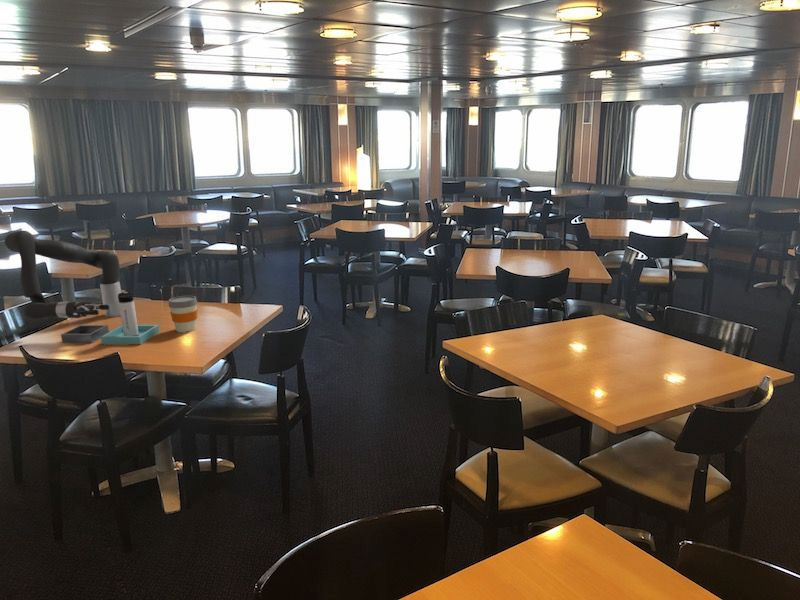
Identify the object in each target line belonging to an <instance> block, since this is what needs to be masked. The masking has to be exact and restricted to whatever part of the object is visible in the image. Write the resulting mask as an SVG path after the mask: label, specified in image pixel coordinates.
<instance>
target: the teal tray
mask: <svg viewBox="0 0 800 600" xmlns="http://www.w3.org/2000/svg"><path fill="white" fill-rule="evenodd" d="M137 326H138V333H139V336H124V334H123V327H122V324H121V325H120V326H118V327H116V328H114V329H113V330H111V331H109V333H107V334H105V335H103V336H102V337H101V338H100V340H101V341H100V342H101V345H102V344H104V346H105V345H107V344H108V345H109V346H110V344H112V346H113V345H116V346H118V345H119V346H120V345H123V346H124V345H126V344H127V345H126V346H128V344H141V345H142V344H144V343H145V341H146V340H147V341H149V340H150V339H152V338H154V337H155V336H157V335H158V334H159V333H161V331H160V324H137ZM157 333H158V334H157ZM154 335H155V336H154ZM151 337H152V338H151ZM148 339H149V340H148ZM147 341H146V342H147ZM143 342H144V343H143Z"/></svg>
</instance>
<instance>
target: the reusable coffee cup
mask: <svg viewBox="0 0 800 600" xmlns="http://www.w3.org/2000/svg"><path fill="white" fill-rule="evenodd" d="M197 304H198V301H197V296H195V295H181V296H175V297H172V298H169V299H168V307H169V309H170V315H171V320H172V322H173V324H174V327H175V332H177V331H178V332H177V333H181V332H183V333H188V332H187V331H191V332H193V331H192V330H194V329H195V330H197V319H198V308H197ZM195 330H194V331H195Z"/></svg>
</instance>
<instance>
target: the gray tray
mask: <svg viewBox="0 0 800 600" xmlns="http://www.w3.org/2000/svg"><path fill="white" fill-rule="evenodd" d="M109 332H110V331H109V325H108V324H101V325H100V324H90V325H89V324H80V325H77V326H75V327H73V328H70V329H69V330H67V331H65V332H63V333H61V334H60V337H61V342H62V344H93V343H95V342H96V341H98V340H101V337H102V336H103V335H105V334H107V333H109ZM94 341H95V342H94ZM92 342H93V343H92Z"/></svg>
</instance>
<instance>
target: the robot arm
mask: <svg viewBox="0 0 800 600" xmlns="http://www.w3.org/2000/svg"><path fill="white" fill-rule="evenodd" d="M4 245H5V247H6V249H8V250H10V251H11V252H14V253H19V256H20V260H21V263H20V264H21V266H20V285H21V289H22V293H23V296H24V297H25V298H29V300H30V301H31V302H30V303H28V304H26V305H25V306H24V308H23V309H22V310H23V311H22V312H23V314H24V316H26V318H28V319H32V320H34V319H46V318H56V319H57V318H61V319H63V318H64V319H80V318H86V317H87V316H98V315H99V314H100V312H99V311H102V310H103V312H104V316H105V317H106V318H113V317H121V314H120V308H119V300H118V295H119V293H122V289H121V282H120V277H121V269H120V261H119V258H118V255H117V254H116V253H115V252H112V251H105V250H92V249H88V248H85V247H81V246H80V245H77V244H76V243H75V244H74V243H71V242H68V241H67V242H66V241H64V240H57V239H55V240H53V239H39V238H35V237H34V236H33V234H32V233H31V232H29V231H28V230H19V231H13V232H11V233H9V234H7V235H6V236H5V238H4ZM36 256H41V257H44V258H49V259H51V260H52V259H53V260H57V261H62V262H67V263H73V264H85V265H88V266H91V267H95V268H97V269H101V271H102V276H101V277H99V280H98V281H99V287H100V292H101V298H102V302H93V303H92V302H90V303H89V304H87V303H86V304H83V303H82V302H81V301H77V300H76V301H54V302H53V301H51V302H47V301H46V298H45V296H44V294H43V293H42V291H41V286H40V285H41V284H40V281H39V276H38V271H37V269H38V268H37V260H36V259H37V257H36Z"/></svg>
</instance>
